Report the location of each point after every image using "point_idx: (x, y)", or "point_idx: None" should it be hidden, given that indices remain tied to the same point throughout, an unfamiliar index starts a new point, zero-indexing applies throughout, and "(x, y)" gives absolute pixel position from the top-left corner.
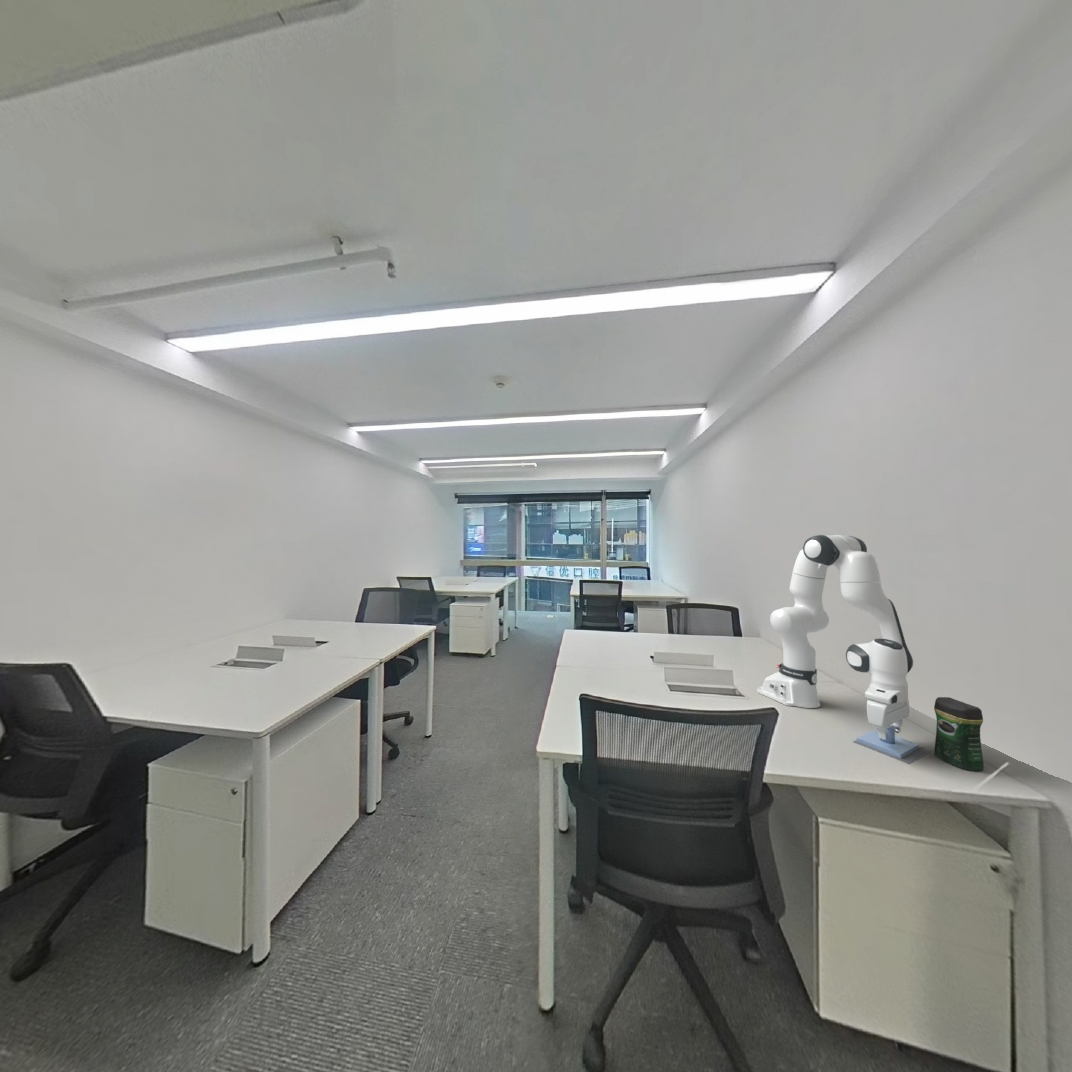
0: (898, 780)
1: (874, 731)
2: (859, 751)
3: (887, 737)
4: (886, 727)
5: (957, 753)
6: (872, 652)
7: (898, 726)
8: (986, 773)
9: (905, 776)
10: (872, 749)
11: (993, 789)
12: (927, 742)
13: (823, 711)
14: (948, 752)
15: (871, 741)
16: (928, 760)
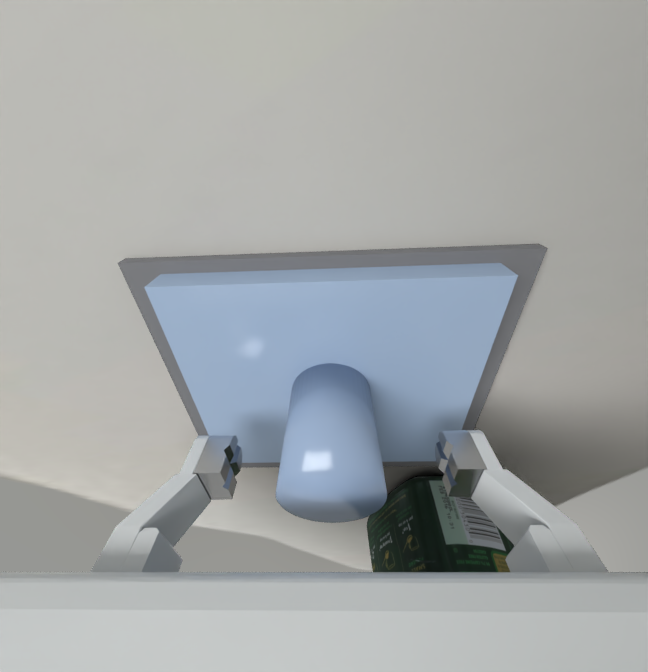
0: (59, 474)
1: (445, 292)
2: (79, 332)
3: (239, 466)
4: (178, 570)
5: None
6: None
7: (475, 495)
8: None
9: (116, 474)
10: (167, 367)
11: (318, 547)
12: (600, 424)
13: None
14: (384, 556)
15: (210, 359)
16: None
